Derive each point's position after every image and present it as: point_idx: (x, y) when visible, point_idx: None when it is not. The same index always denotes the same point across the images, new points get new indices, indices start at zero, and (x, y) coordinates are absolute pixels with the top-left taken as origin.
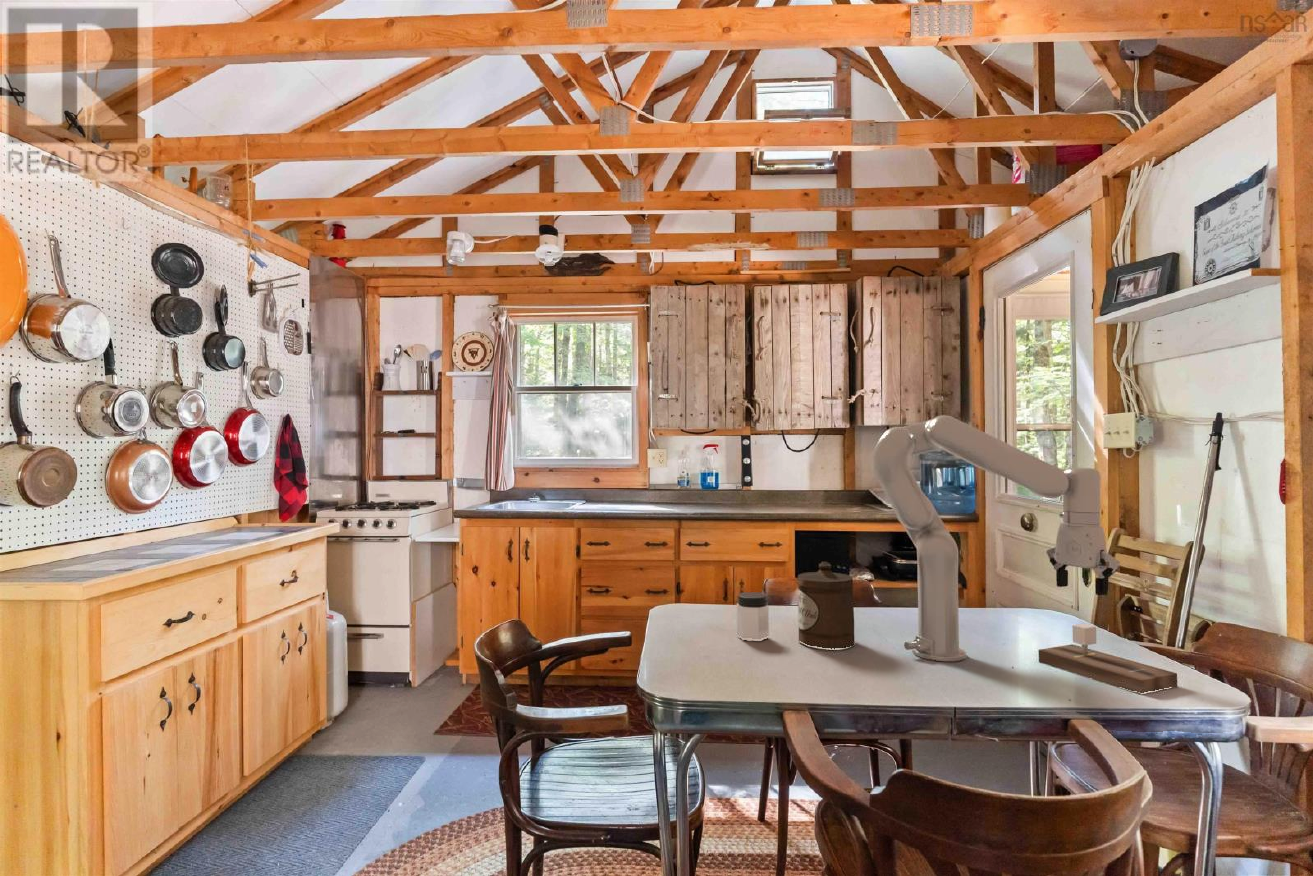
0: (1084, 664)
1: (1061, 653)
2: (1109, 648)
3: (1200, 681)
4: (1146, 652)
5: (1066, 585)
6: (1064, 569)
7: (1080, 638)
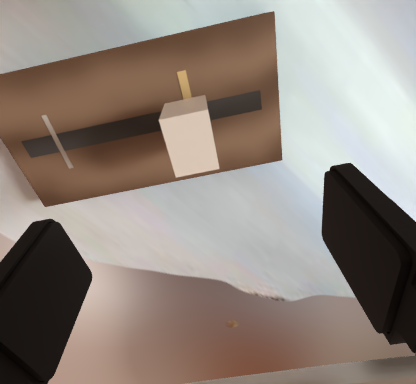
0: (120, 47)
1: (221, 60)
2: (288, 250)
3: (94, 248)
4: (248, 283)
5: (324, 229)
6: (405, 329)
7: (178, 105)
